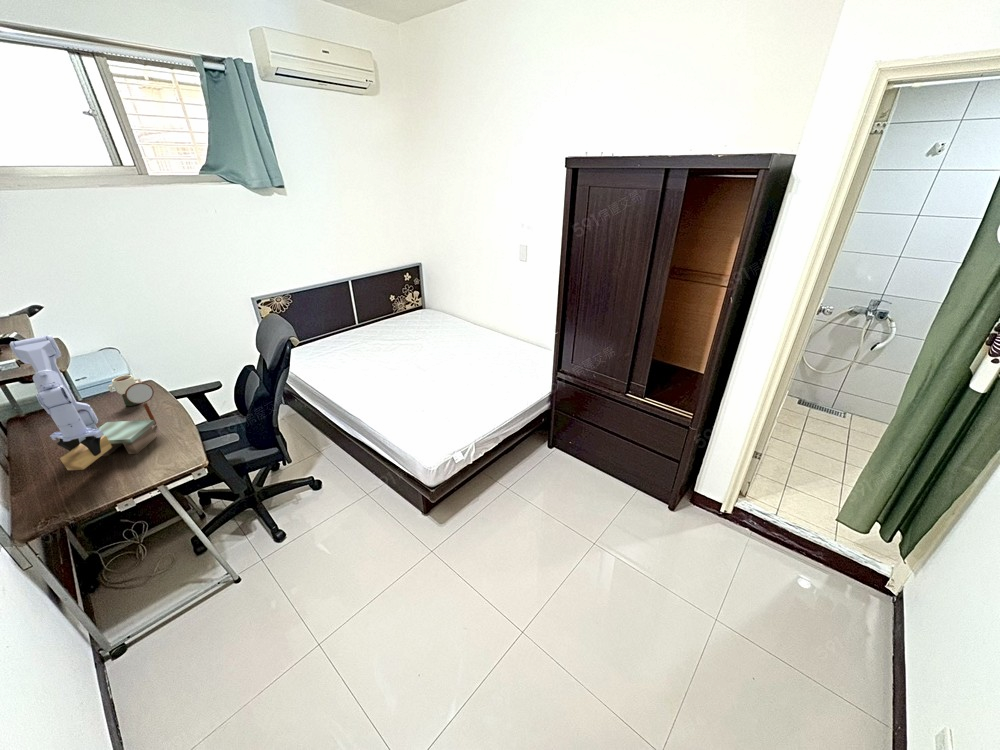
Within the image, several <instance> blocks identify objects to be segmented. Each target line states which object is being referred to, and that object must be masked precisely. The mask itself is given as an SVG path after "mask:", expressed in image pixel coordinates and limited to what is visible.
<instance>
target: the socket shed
mask: <svg viewBox="0 0 1000 750" xmlns="http://www.w3.org/2000/svg"><path fill="white" fill-rule="evenodd" d="M155 421H156V420H155ZM155 421H154V420H150V419H145V420H141V419H140V420H126V421H125V420H124V421H123V420H121V421H119V420H118V421H106V422H105V423H103V424H102V425H101V426H99V427H97V428H98V429H96V430H102V432H103V434H104V435H102V436H106V437H107V439H108V440H109V442H110V444H111V446H112V448H111V449H109V450H108V451H107V452H105V453H104V454H103V455H102V456H101V457H103V456H110V455H111V454H112V453H114V452H115V451H116V450H117V449H118V448H120V447H121V446H122V445H123V447H124V448H125V450H126V451H127V453H128V455H138V454H139V453H140V452H141V451H142V450H143V449H144V448H146V447H147V446H148V445H149V444H150V443H152V441H154V440H155V439H156V438H157V435H156V433H155V430H154V428H153V426H154V424H155ZM84 439H86V438H84ZM84 439H82V440H81V441H83V440H84ZM81 441H79V443H80V442H81ZM80 444H81V443H80Z"/></svg>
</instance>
